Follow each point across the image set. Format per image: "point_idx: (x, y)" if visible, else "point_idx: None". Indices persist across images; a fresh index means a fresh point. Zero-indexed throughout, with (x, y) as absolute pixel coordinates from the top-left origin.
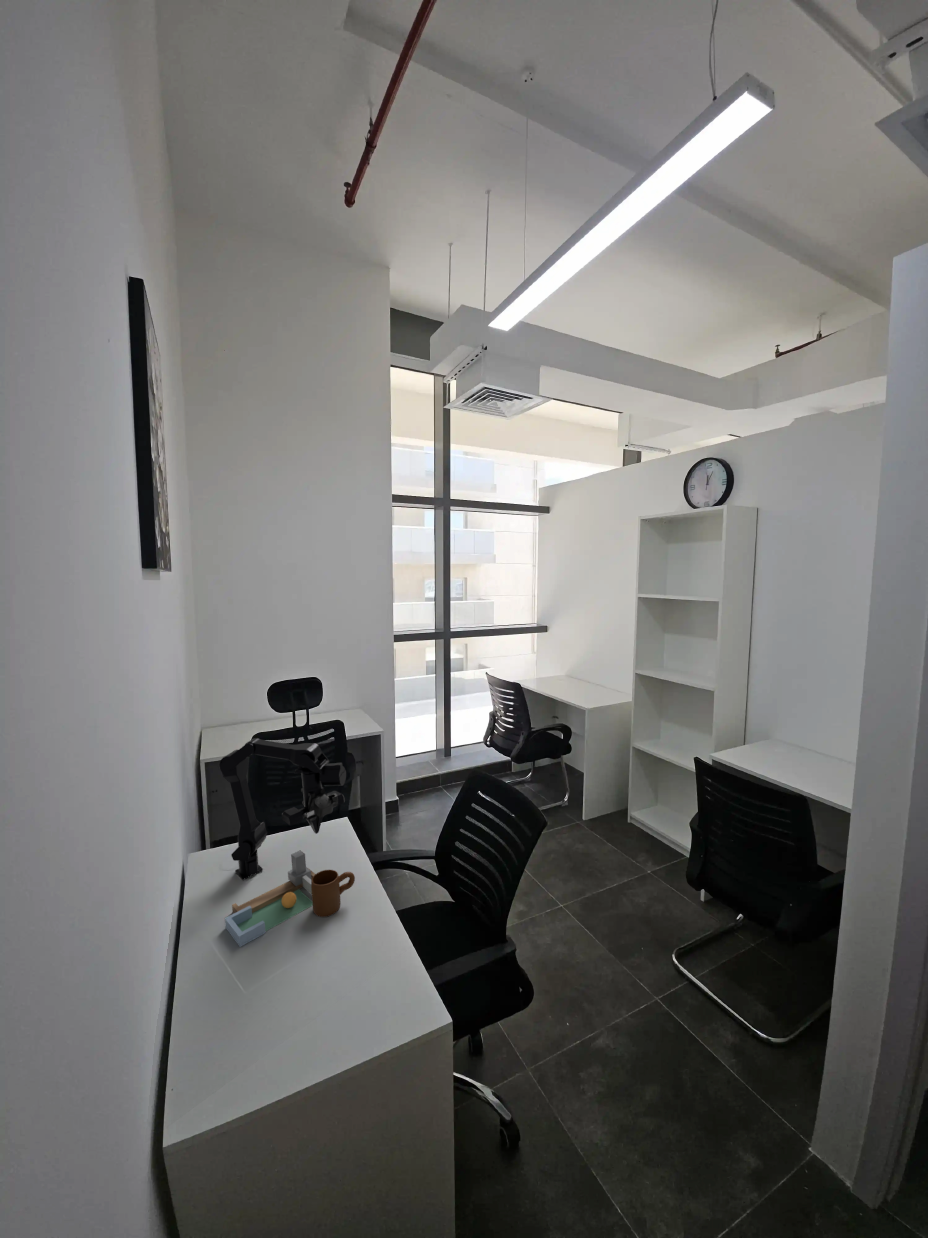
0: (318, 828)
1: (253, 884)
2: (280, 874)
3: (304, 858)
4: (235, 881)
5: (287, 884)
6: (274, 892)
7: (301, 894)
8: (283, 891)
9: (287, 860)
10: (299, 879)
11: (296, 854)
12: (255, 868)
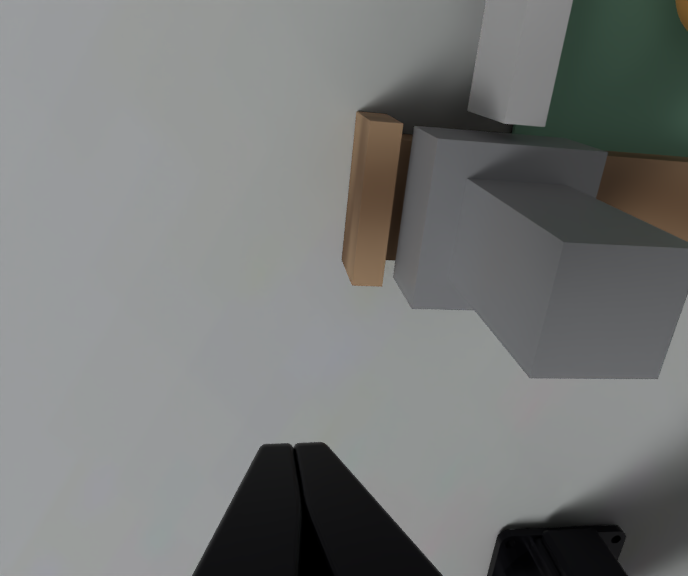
0: (266, 519)
1: (617, 447)
2: (459, 422)
3: (544, 222)
4: (642, 540)
5: None
6: (686, 220)
7: None
8: (648, 172)
9: None
10: (552, 143)
11: (630, 324)
12: (574, 556)
